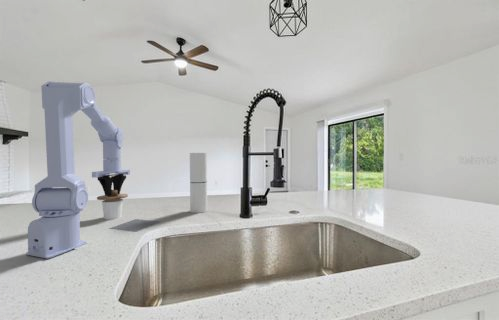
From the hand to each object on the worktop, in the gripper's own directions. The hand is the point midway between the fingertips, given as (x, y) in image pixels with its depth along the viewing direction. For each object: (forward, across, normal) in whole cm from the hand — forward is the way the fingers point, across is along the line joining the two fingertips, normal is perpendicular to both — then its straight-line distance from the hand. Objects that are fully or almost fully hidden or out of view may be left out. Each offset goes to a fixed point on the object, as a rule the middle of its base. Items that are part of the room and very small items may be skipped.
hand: (112, 194), depth 84 cm
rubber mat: (+9, -5, -16) cm, 19 cm away
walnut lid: (+1, 0, 0) cm, 1 cm away
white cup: (+9, 0, 0) cm, 9 cm away
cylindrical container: (+9, +19, -26) cm, 33 cm away
